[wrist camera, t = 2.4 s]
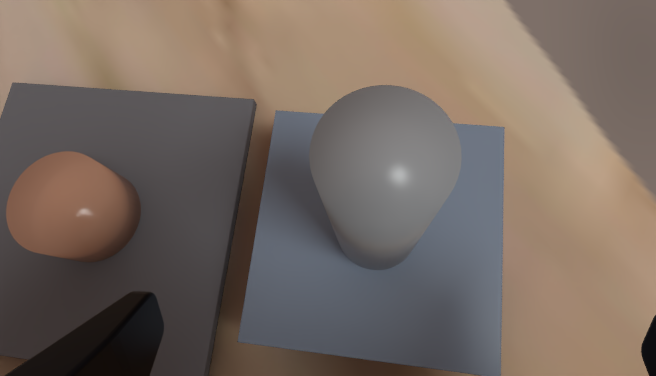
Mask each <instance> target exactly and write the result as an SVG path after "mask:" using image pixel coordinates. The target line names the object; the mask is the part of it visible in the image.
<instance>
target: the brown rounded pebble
mask: <svg viewBox="0 0 656 376" xmlns="http://www.w3.org/2000/svg"><path fill="white" fill-rule="evenodd" d="M140 215H141V203H140V198H139V195H138V193H137V191H136V189H135V187H134V186H133V185H132V183H131V182H129V181H128V180H127V179H126V178H124V177H123V176H121V175H119V174H118V173H116V172H114V171H113V170H111V169H109V168H107V167H106V166H104V165H102V164H100V163H99V162H97V161H95V160H94V159H92V158H90V157H88V156H86V155H84V154H81V153H78V152H72V151H64V152H57V153H53V154H50V155H47V156H45V157H43V158H41V159H39V160H37V161H36V162H34V163H33V164H32V165H30V166H29V167H28V168H27V169H26V170H25V171H24V172H23V173H22V174H21V175H20V176H19V178H18V179H17V181H16V182H15V184H14V186H13V188H12V190H11V192H10V194H9V198H8V201H7V207H6V219H7V224H8V228H9V230H10V233H11V235H12V236H13V238H14V239H15V240H16V241H17V243H18V244H20V245H21V246H22V247H24V248H25V249H27V250H29V251H32V252H35V253H40V254H45V255H50V256H55V257H60V258H65V259H70V260H75V261H80V262H97V261H102V260H104V259H107V258H109V257H111V256H113V255H115V254H116V253H118V252H119V251H120V250H121V249H123V248H124V247H125V246H126V245H127V244H128V242H129V241H130V240H131V238H132V237H133V235H134V233H135V231H136V229H137V227H138V224H139V221H140Z"/></svg>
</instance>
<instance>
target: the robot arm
mask: <svg viewBox="0 0 656 376" xmlns="http://www.w3.org/2000/svg"><path fill="white" fill-rule="evenodd" d="M163 333H164V321H163V317H162V314H161V311H160V307H159V304H158V300H157V297H156V295H155V294H154V293H153V292H150V291H132V292H130V293H128V294H126V295H125V296H123V297H122V298H120V299H119V300H117V301H116V302H114V303H113V304H111V305H110V306H108V307H107V308H105V309H104V310H102V311H101V312H99V313H98V314H96V315H95V316H93V317H92V318H90V319H89V320H87V321H86V322H84V323H83V324H81V325H80V326H78V327H77V328H75V329H74V330H72V331H71V332H69V333H68V334H66V335H65V336H63V337H62V338H60V339H59V340H57V341H56V342H54V343H53V344H51V345H50V346H48V347H47V348H45V349H44V350H42V351H41V352H39V353H38V354H36V355H35V356H33V357H32V358H30V359H29V360H27V361H26V362H24V363H23V364H21V365H20V366H18V367H17V368H15V369H14V370H12V371H11V372H10V373H8V374H7V375H5V376H150V374H151V371H152V368H153V364H154V361H155V358H156V355H157V352H158V349H159V346H160V343H161V340H162V337H163ZM641 352H642V358H643V361H644V364H645V366H646V369H647V371H648V374H649V376H656V315H655V316H654V318H653V320H652V323H651V325H650V327H649V329H648V332H647V334H646V336H645V338H644V341H643V343H642V348H641Z"/></svg>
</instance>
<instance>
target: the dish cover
mask: <svg viewBox="0 0 656 376" xmlns="http://www.w3.org/2000/svg"><path fill="white" fill-rule="evenodd" d="M503 186H504V127H496V126H482V125H468V124H454V123H452V121H451V120H450V118H449V117H448V115H447V114H446V113H445V112H444V111H443V109H442V108H441V107H440V106H438V105H437V104H436V103H435V102H434V101H432V100H431V99H429V98H428V97H427V96H425V95H423V94H421V93H419V92H416V91H414V90H411V89H408V88H404V87H400V86H392V85H379V86H371V87H366V88H362V89H359V90H356V91H354V92H352V93H350V94H348V95H346V96H344V97H342V98H341V99H339V100H338V101H337V102H335V103H334V104H333V105H332V106H331V107H330V108H329V109H328V110H327V111H326V112H325V113H324V114H317V113H303V112H289V111H276V113H275V119H274V125H273V131H272V137H271V143H270V149H269V155H268V161H267V167H266V173H265V179H264V185H263V191H262V198H261V204H260V210H259V216H258V222H257V228H256V234H255V240H254V246H253V252H252V258H251V264H250V270H249V276H248V282H247V288H246V294H245V300H244V306H243V312H242V318H241V324H240V331H239V337H238V342H241V343H248V344H255V345H263V346H270V347H277V348H285V349H292V350H299V351H307V352H314V353H321V354H329V355H336V356H343V357H351V358H358V359H365V360H373V361H380V362H387V363H395V364H402V365H409V366H417V367H424V368H431V369H439V370H446V371H453V372H461V373H468V374H475V375H483V376H501V322H502V254H503Z"/></svg>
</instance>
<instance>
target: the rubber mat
mask: <svg viewBox="0 0 656 376" xmlns="http://www.w3.org/2000/svg"><path fill="white" fill-rule="evenodd" d="M256 105H257V104H256V102H255V101H254V99H241V98H227V97H212V96H198V95H184V94H169V93H155V92H141V91H127V90H112V89H98V88H84V87H70V86H55V85H41V84H27V83H12V86H11V89H10V92H9V95H8V98H7V101H6V104H5V107H4V109H3V112H2V115H1V118H0V355H2V356H9V357H15V358H22V359H30V358H32V357H33V356H35V355H36V354H38V353H39V352H41V351H42V350H44V349H45V348H47V347H48V346H50V345H51V344H53V343H54V342H56V341H57V340H59V339H60V338H62V337H63V336H65V335H66V334H68V333H69V332H71V331H72V330H74V329H75V328H77V327H78V326H80V325H81V324H83V323H84V322H86V321H87V320H89V319H90V318H92V317H93V316H95V315H96V314H98V313H99V312H101V311H102V310H104V309H105V308H107V307H108V306H110V305H111V304H113V303H114V302H116V301H117V300H119V299H120V298H122V297H123V296H125V295H126V294H128V293H130V292H132V291H150V292H153V293H154V294H155V295H156V297H157V300H158V304H159V307H160V311H161V314H162V317H163V321H164V333H163V337H162V340H161V343H160V346H159V349H158V352H157V355H156V358H155V361H154V364H153V368H152V371H151V374H150V376H208V373H209V368H210V362H211V357H212V351H213V345H214V340H215V334H216V329H217V323H218V317H219V312H220V306H221V301H222V295H223V289H224V284H225V278H226V273H227V267H228V261H229V256H230V250H231V245H232V239H233V233H234V228H235V222H236V217H237V211H238V206H239V200H240V194H241V189H242V183H243V178H244V172H245V166H246V161H247V155H248V150H249V144H250V138H251V133H252V127H253V122H254V116H255V110H256ZM64 151H72V152H78V153H81V154H84V155H86V156H88V157H90V158H92V159H94V160H95V161H97V162H99V163H100V164H102V165H104V166H106V167H107V168H109V169H111V170H113V171H114V172H116V173H118V174H119V175H121V176H123V177H124V178H126V179H127V180H128V181H129V182H131V183H132V185H133V186H134V187H135V189H136V191H137V193H138V195H139V198H140V203H141V215H140V221H139V224H138V227H137V229H136V231H135V233H134V235H133V237H132V238H131V240H130V241H129V242H128V244H127V245H126V246H125V247H124V248H123V249H121V250H120V251H119V252H118V253H116V254H115V255H113V256H111V257H109V258H107V259H104V260H102V261H97V262H80V261H75V260H70V259H65V258H60V257H55V256H50V255H45V254H40V253H35V252H32V251H29V250H27V249H25V248H24V247H22V246H21V245H20V244H18V243H17V241H16V240H15V239H14V238H13V236H12V235H11V233H10V230H9V228H8V224H7V219H6V207H7V201H8V198H9V194H10V192H11V190H12V188H13V186H14V184H15V182H16V181H17V179H18V178H19V176H20V175H21V174H22V173H23V172H24V171H25V170H26V169H27V168H28V167H29V166H30V165H32V164H33V163H34V162H36V161H37V160H39V159H41V158H43V157H45V156H47V155H50V154H53V153H57V152H64Z"/></svg>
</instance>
